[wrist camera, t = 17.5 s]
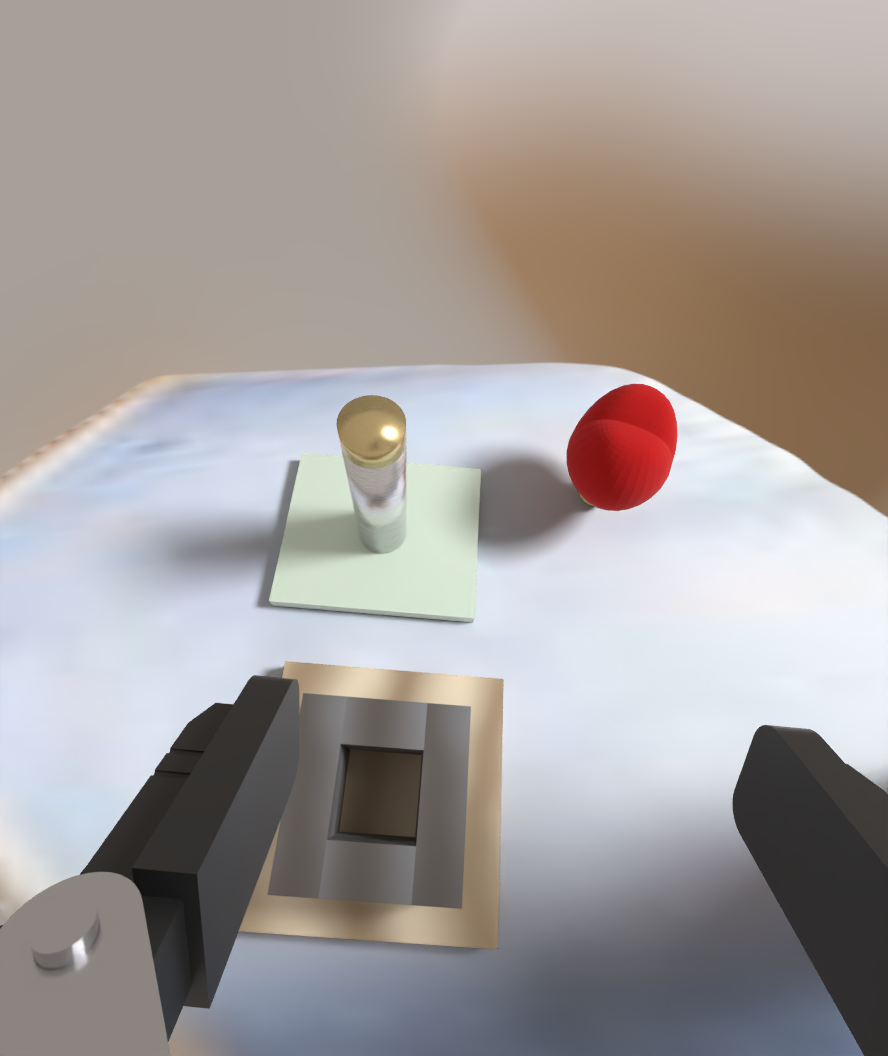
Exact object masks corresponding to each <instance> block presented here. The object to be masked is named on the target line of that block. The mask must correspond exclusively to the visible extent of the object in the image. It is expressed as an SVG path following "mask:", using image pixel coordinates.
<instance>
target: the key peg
mask: <svg viewBox="0 0 888 1056" xmlns="http://www.w3.org/2000/svg"><path fill="white" fill-rule="evenodd" d="M337 429H338V434H339V439H340V444H341V449H342V454H343V459H344V464H345V469H346V474H347V479H348V484H349V489H350V493H351V498H352V503H353V508H354V513H355V518H356V523H357V528H358V533H359V538H360V540H361V542H362V544H363V545H364V546H365V547H366V548H367V549H368V550H370V551H372V552H375V553H381V554H384V553H390V552H393V551H395V550H396V549H398V548H399V547H400V546H401V545H402V544H403V543H404V541H405V539H406V536H407V475H406V418H405V415H404V413H403V411H402V409H401V408H400V407H399V406H398V405H397V404H396V403H395V402H393V401H392V400H390V399H388V398H385V397H381V396H374V395H370V396H362V397H359V398H356V399H354V400H352V401H350V402H349V403H347V404H346V405H345V406H344V407H343V408H342V410H341V411H340V413H339V415H338V418H337Z"/></svg>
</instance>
